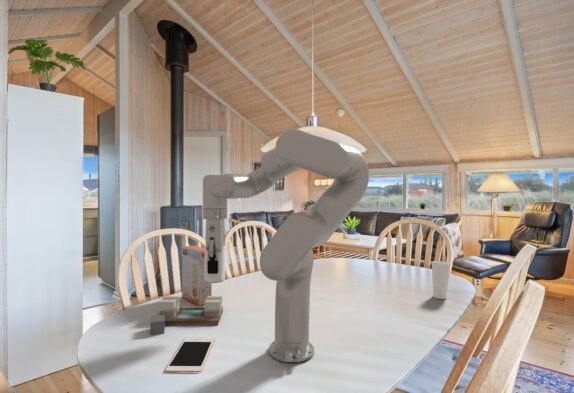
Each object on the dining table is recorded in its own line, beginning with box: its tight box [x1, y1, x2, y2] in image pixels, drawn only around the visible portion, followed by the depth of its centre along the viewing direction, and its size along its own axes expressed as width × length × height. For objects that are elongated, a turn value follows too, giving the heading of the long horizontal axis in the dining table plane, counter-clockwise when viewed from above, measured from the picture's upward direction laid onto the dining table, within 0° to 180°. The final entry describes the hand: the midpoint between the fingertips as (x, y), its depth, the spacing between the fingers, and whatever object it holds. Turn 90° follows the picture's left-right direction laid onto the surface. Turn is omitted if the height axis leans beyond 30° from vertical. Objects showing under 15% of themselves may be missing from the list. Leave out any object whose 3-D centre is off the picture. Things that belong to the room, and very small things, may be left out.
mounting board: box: [158, 295, 224, 326], centre depth 116 cm, size 12×20×6 cm, turn 93°
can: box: [204, 245, 226, 284], centre depth 107 cm, size 6×6×12 cm
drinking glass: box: [431, 260, 450, 300], centre depth 143 cm, size 7×7×15 cm
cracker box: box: [181, 245, 213, 306], centre depth 134 cm, size 14×6×21 cm, turn 43°
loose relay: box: [149, 315, 166, 336], centre depth 106 cm, size 5×4×4 cm
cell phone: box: [164, 337, 216, 374], centre depth 92 cm, size 9×18×1 cm, turn 1°
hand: (214, 270), depth 107 cm, fingers closed on can, 6 cm apart
